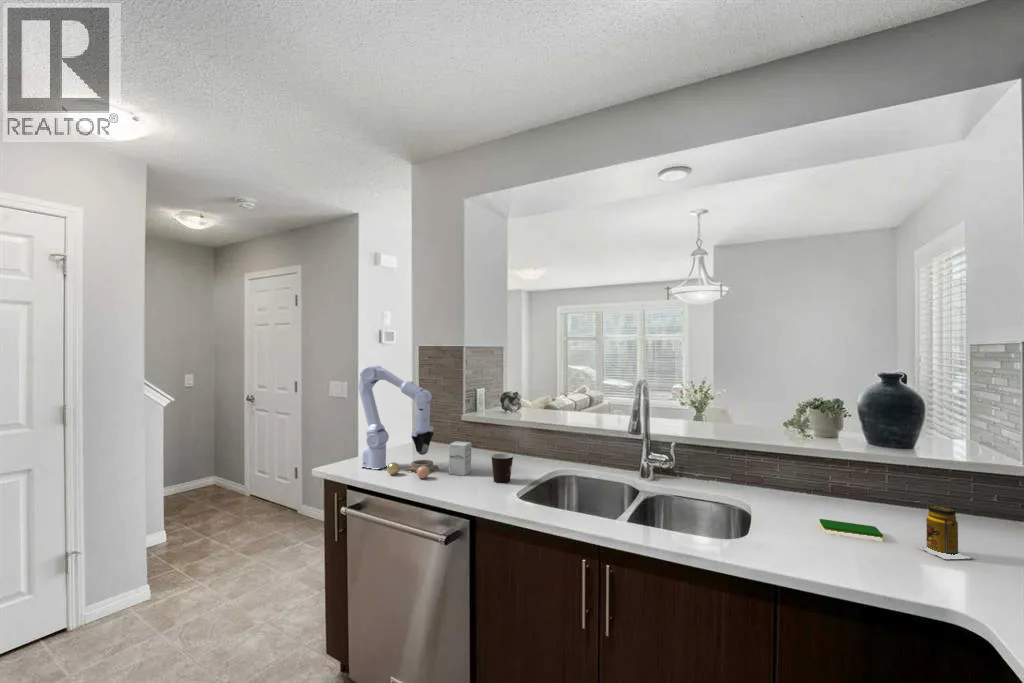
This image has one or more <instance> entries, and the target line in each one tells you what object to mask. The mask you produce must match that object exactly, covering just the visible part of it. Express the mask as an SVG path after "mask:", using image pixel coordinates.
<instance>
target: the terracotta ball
mask: <svg viewBox="0 0 1024 683" xmlns="http://www.w3.org/2000/svg"><path fill="white" fill-rule="evenodd" d="M416 475H417V477H418V478H419V479H421V478H422V479H423V480H424V479H426V478H428V477H429V475H430V473H429V469H428V467H426V466H420V467H419V468H418V469H417V473H416Z"/></svg>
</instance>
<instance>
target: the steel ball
mask: <svg viewBox="0 0 1024 683" xmlns="http://www.w3.org/2000/svg"><path fill="white" fill-rule="evenodd" d="M429 449H430V447H429V448H428V445H427V444H426V443H423V446H422V452H417V454H419V455H422V456H423V455H426V454H427V453H428V452H429Z"/></svg>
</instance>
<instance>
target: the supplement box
mask: <svg viewBox="0 0 1024 683" xmlns="http://www.w3.org/2000/svg"><path fill="white" fill-rule="evenodd" d="M472 445H473V444H472V442H471V441H459V440H454V441H453V442H451V443H449V448H448V449H449V450H448V451H449V453H448V454H449V455H448V456H449V458H448V475H455V476H463V475H465V476H467V475H468V474H469V473H471V472H472V471H471V469H472ZM470 471H471V472H470Z"/></svg>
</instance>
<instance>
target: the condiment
mask: <svg viewBox="0 0 1024 683" xmlns="http://www.w3.org/2000/svg"><path fill="white" fill-rule="evenodd" d="M927 507H928V508H927V509H928V511H927V514H928V515H927V516H926V518H925V520H926V548H927V547H928V548H930V549H932V550H934V551H937V552H941V553H946V554H951V555H952V554H953V555H955V554H958V553H959V523H958V521H957V517H956V511H955V510H954V509H953V508H951V507H947V506H943V505H942V506H941V505H934V504H933V505H928V506H927Z"/></svg>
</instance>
